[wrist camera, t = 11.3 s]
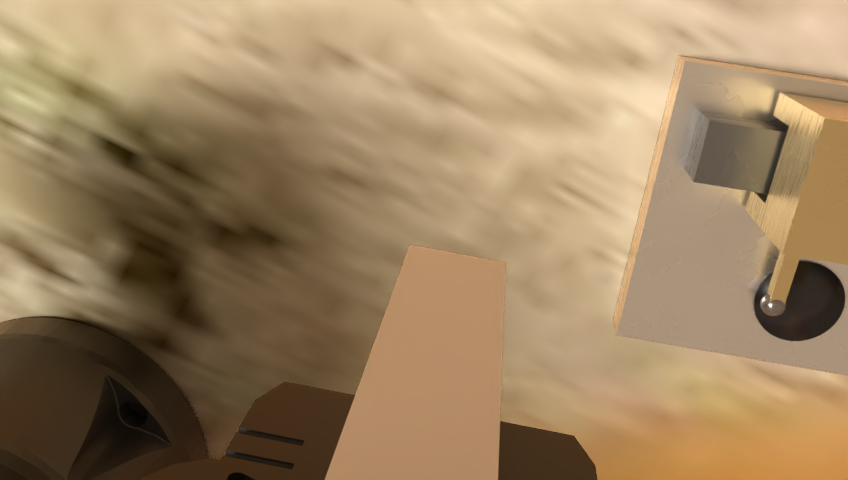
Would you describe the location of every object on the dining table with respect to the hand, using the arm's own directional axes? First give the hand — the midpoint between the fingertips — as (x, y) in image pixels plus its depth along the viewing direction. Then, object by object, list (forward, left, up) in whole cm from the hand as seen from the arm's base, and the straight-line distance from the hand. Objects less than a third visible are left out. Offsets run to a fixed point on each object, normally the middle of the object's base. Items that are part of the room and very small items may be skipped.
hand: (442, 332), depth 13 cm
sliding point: (-3, -13, -21) cm, 25 cm away
